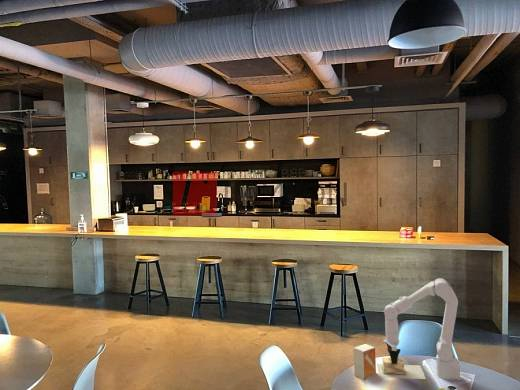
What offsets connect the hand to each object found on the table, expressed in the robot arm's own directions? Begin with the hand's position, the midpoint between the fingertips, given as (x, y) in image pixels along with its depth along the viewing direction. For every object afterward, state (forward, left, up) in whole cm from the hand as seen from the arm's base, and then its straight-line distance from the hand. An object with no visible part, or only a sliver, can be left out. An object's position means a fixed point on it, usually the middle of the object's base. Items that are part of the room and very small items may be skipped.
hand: (393, 360), depth 197 cm
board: (-3, 0, -6) cm, 7 cm away
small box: (+13, +3, -6) cm, 15 cm away
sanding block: (0, 0, -5) cm, 5 cm away
